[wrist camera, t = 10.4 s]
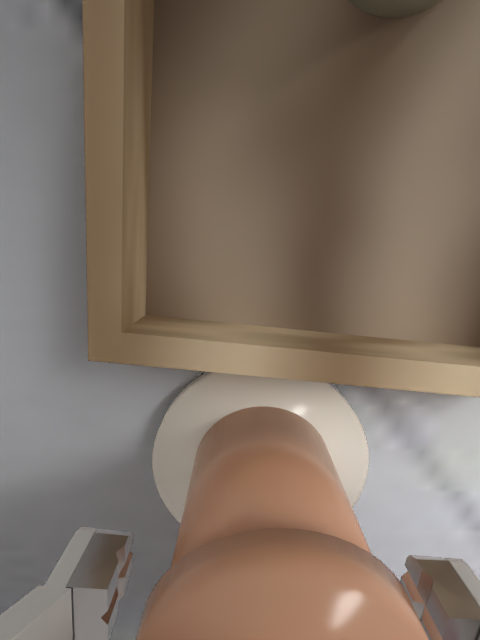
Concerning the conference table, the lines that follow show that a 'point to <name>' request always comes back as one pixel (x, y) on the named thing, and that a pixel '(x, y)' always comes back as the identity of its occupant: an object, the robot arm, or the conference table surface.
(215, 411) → the cream disc
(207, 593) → the peach mushroom knob
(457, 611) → the robot arm
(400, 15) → the sage pot
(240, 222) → the brown wooden tray
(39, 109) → the conference table surface
